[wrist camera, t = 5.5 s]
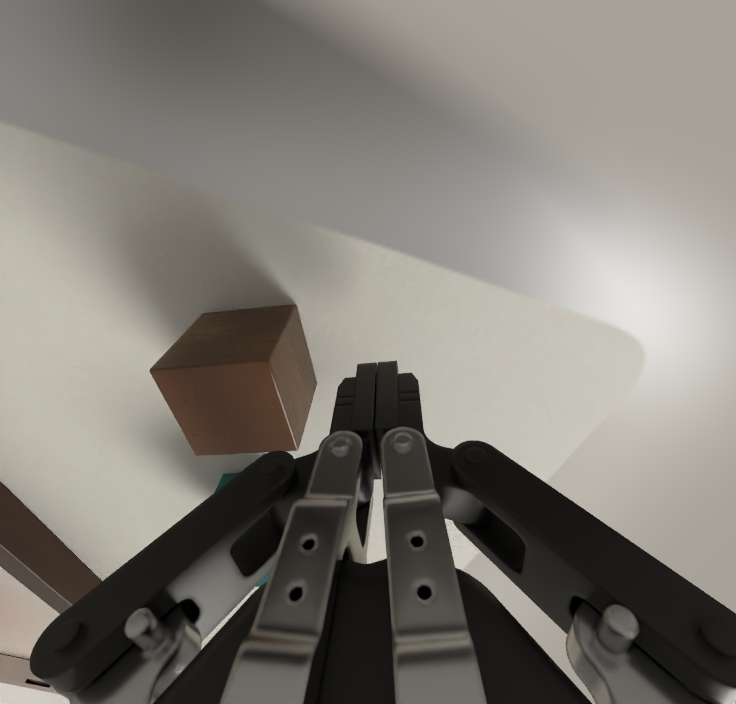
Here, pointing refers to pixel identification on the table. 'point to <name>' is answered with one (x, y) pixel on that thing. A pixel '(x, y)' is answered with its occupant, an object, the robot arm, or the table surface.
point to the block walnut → (240, 381)
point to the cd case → (24, 684)
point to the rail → (40, 557)
